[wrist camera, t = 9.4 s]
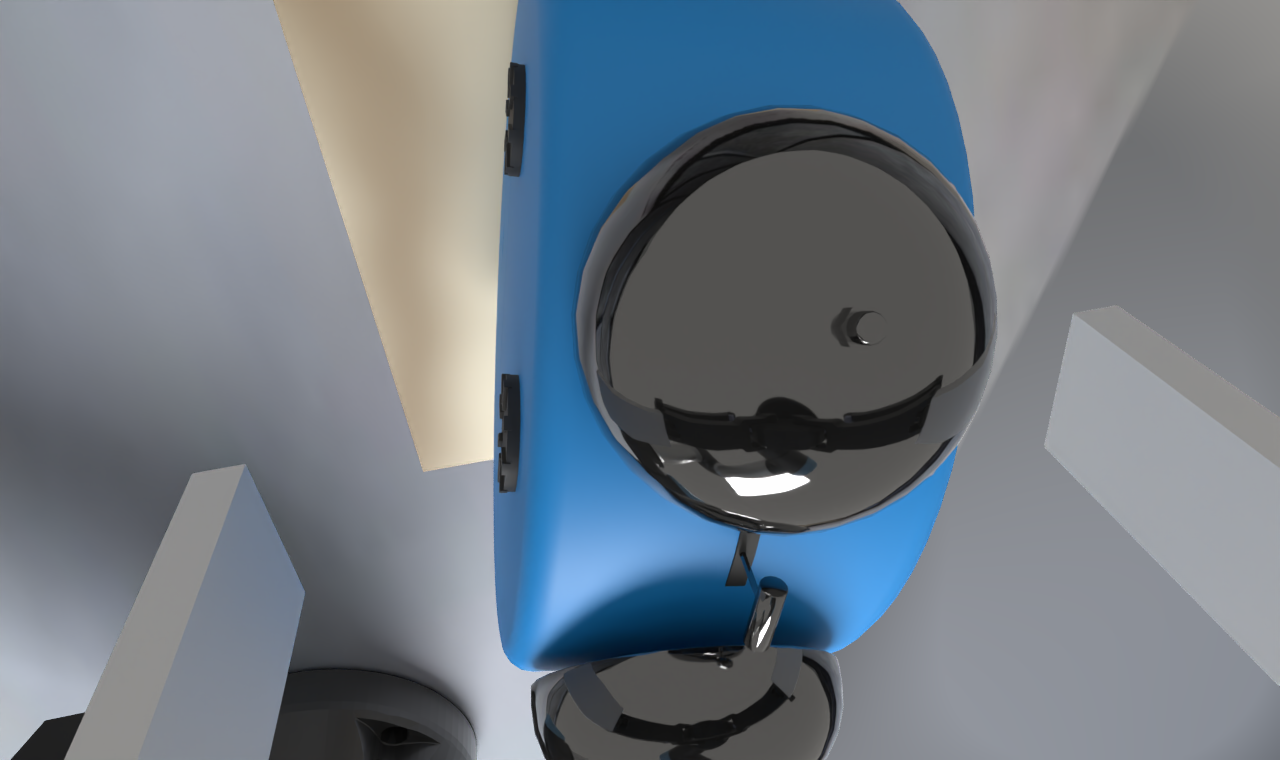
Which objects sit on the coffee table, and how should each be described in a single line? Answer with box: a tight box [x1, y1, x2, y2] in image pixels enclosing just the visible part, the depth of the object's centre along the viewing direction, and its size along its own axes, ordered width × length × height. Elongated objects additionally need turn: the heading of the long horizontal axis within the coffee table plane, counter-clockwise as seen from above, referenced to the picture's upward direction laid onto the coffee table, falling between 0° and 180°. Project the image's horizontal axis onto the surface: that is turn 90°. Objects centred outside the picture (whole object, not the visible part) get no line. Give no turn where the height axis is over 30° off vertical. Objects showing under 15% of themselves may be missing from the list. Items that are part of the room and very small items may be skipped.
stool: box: [273, 0, 518, 472], centre depth 25 cm, size 14×16×8 cm
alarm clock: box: [494, 0, 997, 760], centre depth 16 cm, size 13×6×15 cm, turn 172°
